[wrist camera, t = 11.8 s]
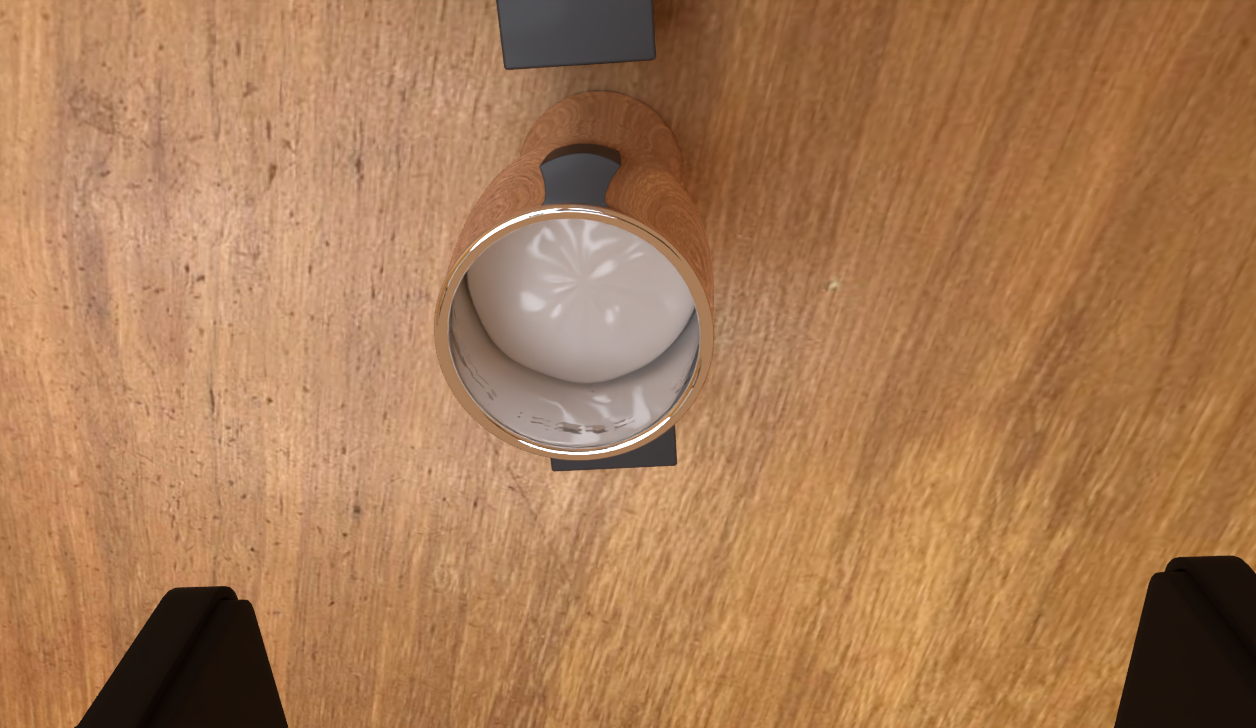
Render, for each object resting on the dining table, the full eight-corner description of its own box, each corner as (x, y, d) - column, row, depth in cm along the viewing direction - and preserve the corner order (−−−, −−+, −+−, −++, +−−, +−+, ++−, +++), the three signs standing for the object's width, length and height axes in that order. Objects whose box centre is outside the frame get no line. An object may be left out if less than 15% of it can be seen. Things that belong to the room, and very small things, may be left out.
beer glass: (474, 201, 37) (373, 382, 23) (568, 38, 34) (516, 134, 20) (630, 294, 38) (621, 513, 25) (731, 144, 35) (783, 299, 22)
